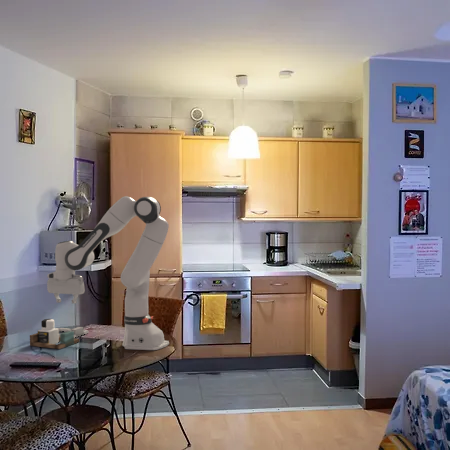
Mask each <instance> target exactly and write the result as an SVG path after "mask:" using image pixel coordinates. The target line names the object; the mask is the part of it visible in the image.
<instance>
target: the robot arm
mask: <svg viewBox="0 0 450 450" xmlns="http://www.w3.org/2000/svg"><path fill="white" fill-rule="evenodd" d="M161 211H162V207H161V204H160V202H159V201H158V200H157V199H156V198H155V197H152V196H142V197H140V198H138V199H137V200H135V199H134V198H132V197H130V196H127V195H125V196H122V197H121V198H119V199H118V200H116V202H115V203H113V205H112V206H111V207H110V208H109V209H108V210H107V211H106V213H104V215H103V216H102V218H101V219H100V221H99V222H98V223H97V224H96V225H95V227H94V229H92V230H91V232H90V233H89V234H88V235H87V236H86V237H85V238H84V239H83V240H82V241H81V243H79V244H77V243H75V242H74V241H72V240H65V241H60V242H58V243H56V246H55V250H54V251H55V252H54V254H55V255H54V257H55V258H54V259H55V263H56V264H55V271H53V272H50V273H47V279H48V280H47V283H46V284H47V286H46V289H47V292H48V293H49V294H53V295H54V298H55V301H56V303H57V304H59V303H62V298H60V295H63V294H64V295H72V297H73V298H72V299H71V304H73V305H75V304H77V299H78V297H79V295H83V294H85V291H86V290H85V283H84V277H83V276H82V275H80V274H76V271H80V270H82V269H84V268H86V267H89V266H91V265H92V264H93V263H94V261H95V257H96V256H95V252H94V250H95V249H96V248H97V247H98V245H100V243H102V242H103V241H104V240H105V239H108V238H110V237H112V236H114V235H117V234H118V233H119V232H121V231H122V230H123V229H124V228H126V226H127V225H128V224H129V222H130V221H131V220H132V219H133V218H135V217H138V219H140V220H141V221H142V222H143V223H145V227H144V230H143V232H142V233H141V235H140V238H139V240H138V242H137V244H136V246H135V248H134V251H133V252H132V254H131V255H130V257H129V259H128V260H127V262H126V264H125V266H124V268H123V269H122V272H121V273H120V282H121V284H122V285H123V286H124V287H126V291H125V297H124V316H123V318H124V319H123V321H124V322H123V323H124V335H123V341H122V344H121V345H122V347H124V349H125V350H140V351H141V350H143V351H156V350H161V349H164V348H165V347H167V346H169V345H170V342H169V340H165V335H164V333H163V330H161V329H160V328H159V327H158V326H157V325H155V323H153V322H152V320H153V319H154V316H150V314H149V292H150V291H149V290H150V278H151V277H150V276H151V275H150V274H151V271H150V270H151V268H152V266H153V265H154V263H155V261H156V260H157V258H158V256H159V254H160V251H161V250H162V247H163V245H164V243H165V241H166V238H167V234H168V232H169V228H170V227H169V222H168V221H167V220H166V219H165V218H163V217H161V215H160V214H161Z"/></svg>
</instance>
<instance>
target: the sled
mask: <svg viewBox="0 0 450 450" xmlns="http://www.w3.org/2000/svg"><path fill="white" fill-rule="evenodd" d="M59 334H60V337H59V343H56V344H49V343H40V342H38V332H37V333H32V334H30V335H29V346H31V347H37V348H38V347H39V348H40V347H41V348H45V349H46V348H49V349H54V350H55V349H56V350H57V349H58V350H61V349H64V348H67V347H69V346H72V345H74V344H77V342H78V343H80V338H77V337H76V338H74V332H73V331H68V332H62V333H59Z"/></svg>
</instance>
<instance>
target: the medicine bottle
mask: <svg viewBox="0 0 450 450" xmlns="http://www.w3.org/2000/svg"><path fill="white" fill-rule="evenodd" d="M55 325H56V324H55V319H53V318H45V319H42V320H41V329H38V330H37V333H38V342H40V343H49V344H59V343H60V341H59V334H60V331H59V328H57V327H55ZM58 342H59V343H58Z"/></svg>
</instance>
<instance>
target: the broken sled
mask: <svg viewBox="0 0 450 450" xmlns="http://www.w3.org/2000/svg"><path fill="white" fill-rule="evenodd" d="M84 328H85V327H83V326H77V327H74V328H72V329H71V328H66V327H65V328H64V327H60V328H58V329H59V332H62V331H64V332H63V333H65V332H68V331H73V332H74V338H75V337H76V338H79V337H81V335H82V336H85V335H88V334H89V330H88V329H87V330H86V329H84ZM87 333H88V334H87ZM60 334H61V333H59V337H60ZM84 334H85V335H84ZM78 336H79V337H78Z"/></svg>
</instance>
